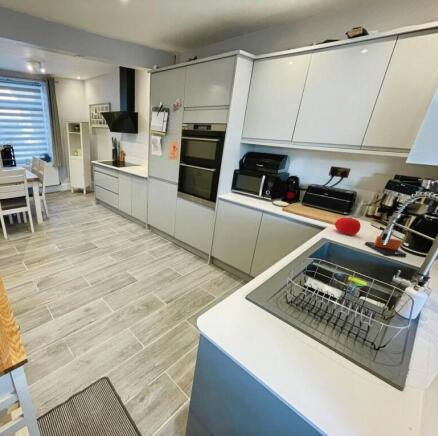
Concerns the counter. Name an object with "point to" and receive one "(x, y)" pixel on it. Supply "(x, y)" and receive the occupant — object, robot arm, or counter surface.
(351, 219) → the tomato
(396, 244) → the orange rectangular block
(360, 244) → the counter surface
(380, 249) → the dark grey square plate
